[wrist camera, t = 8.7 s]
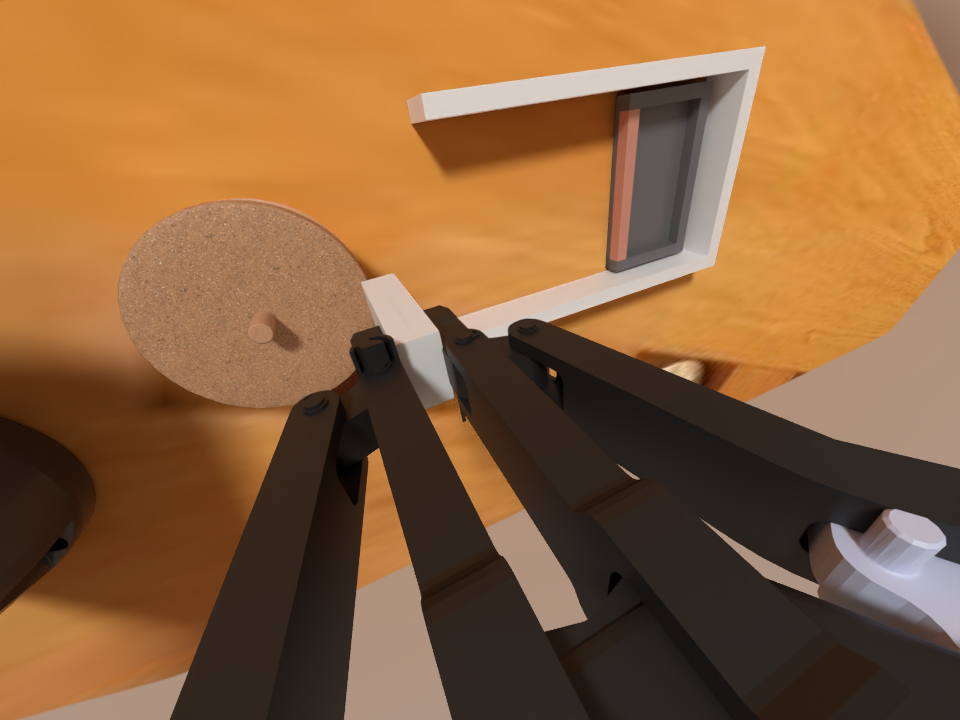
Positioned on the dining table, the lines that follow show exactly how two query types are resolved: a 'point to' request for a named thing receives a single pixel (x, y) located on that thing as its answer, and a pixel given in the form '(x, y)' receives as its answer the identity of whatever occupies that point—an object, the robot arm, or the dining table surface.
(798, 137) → the dining table surface
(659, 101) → the tray
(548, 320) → the channel
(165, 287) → the lidded jar
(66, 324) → the dining table surface
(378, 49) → the dining table surface
